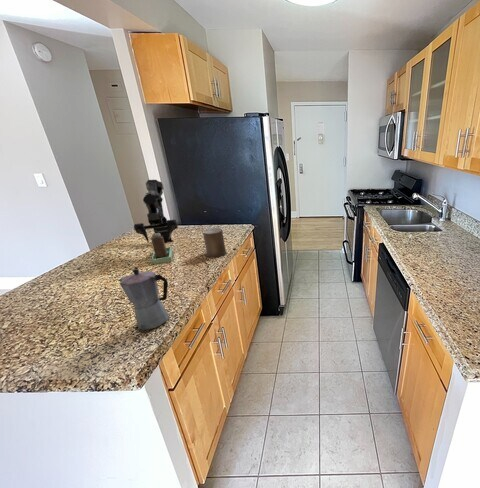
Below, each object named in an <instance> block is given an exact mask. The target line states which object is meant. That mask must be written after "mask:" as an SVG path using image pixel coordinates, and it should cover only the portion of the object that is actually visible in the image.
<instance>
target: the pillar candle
mask: <svg viewBox="0 0 480 488" xmlns="http://www.w3.org/2000/svg"><path fill="white" fill-rule="evenodd" d="M202 235H203V241H204V246H205V251H206V255H207V256H208V257H211V258H220V257H223V256H225V255H226V254H227V250H226V245H225V239H224V233H223V229H222V228H221V227H209V228H206V229H204V230H203V231H202Z"/></svg>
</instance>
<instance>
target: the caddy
mask: <svg viewBox="0 0 480 488" xmlns="http://www.w3.org/2000/svg"><path fill="white" fill-rule="evenodd" d="M165 247H166V251H167V255H168V257H164V258H158V259H156V256H155V252H154V250H153V251H152V256H151V260H150V261H151V265H157V264H162V263H164V264H165V263H168V262H172V261H173V247H172V246H165Z"/></svg>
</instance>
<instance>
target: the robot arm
mask: <svg viewBox="0 0 480 488" xmlns="http://www.w3.org/2000/svg"><path fill="white" fill-rule="evenodd" d="M145 187H146V190H147V192H145V195H144V197H143V199H142V201H143V204H144V205H145V208H146V209H147V214H146V216H147V222H148V224H145V223H144V222H142V223H141V222H140V223H134V225H133V229H134V231H135V232H136V234H139V235H143V237H144V239H145V240H146V242H147V243H149V241H150V240H149V237H148V233H147V230H151V229H153V234H154V233H160V234H161V235H162V236H163V239H164V243H165V244H167V243H171V242H173V241H174V240H173V239H172V234H173V232H174V231H176V229H178V228H179V226H178V222H177V220H176V219H174V218H173V219H167V218H166V216H165V214H164V209H163V199H164V198H163V197H162V195H163V194H164V192H163V191H164V185H163V182H162V181H159V180H157V179H147V180H146V182H145Z"/></svg>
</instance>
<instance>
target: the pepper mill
mask: <svg viewBox="0 0 480 488" xmlns="http://www.w3.org/2000/svg"><path fill="white" fill-rule="evenodd" d="M150 241H151V245H152V248H153V251H154V252H155V256H156V259H158V258H164V257H168V255H167V251H166V247H167V246H166V243H164V239H163V236H162V235H161V234H160V233H154V232H153V233H152V234H151V237H150Z"/></svg>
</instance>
